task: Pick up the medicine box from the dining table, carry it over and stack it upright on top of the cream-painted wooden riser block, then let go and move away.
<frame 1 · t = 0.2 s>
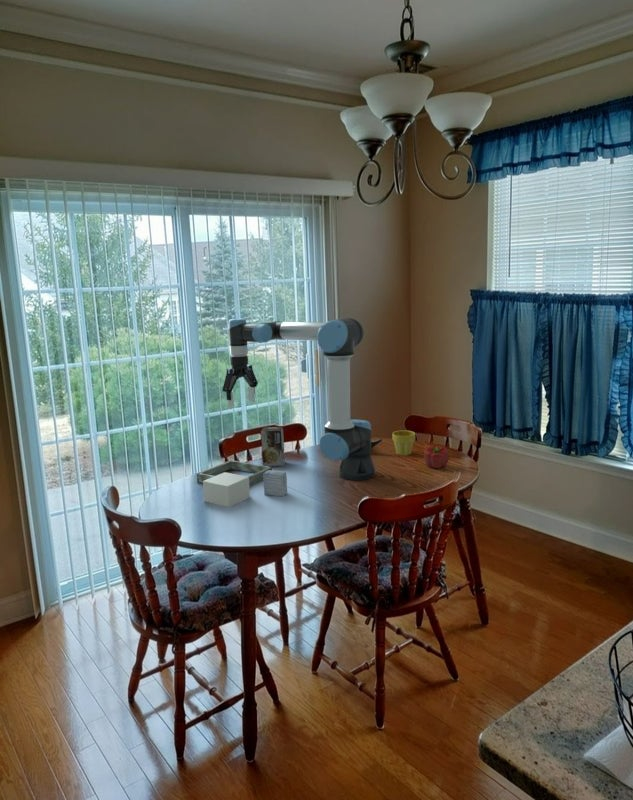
hand: (241, 404, 260), 28 cm above the table, fingers open, 13 cm apart
bowl tray frame: (235, 478, 249), on the table
coffee box: (273, 464, 268), on the table
riser block: (227, 499, 226), on the table
olive brown bowl: (348, 452, 284), on the table
vegetable: (436, 468, 256), on the table
plant pot: (403, 454, 278), on the table
medicine box: (275, 494, 230), on the table
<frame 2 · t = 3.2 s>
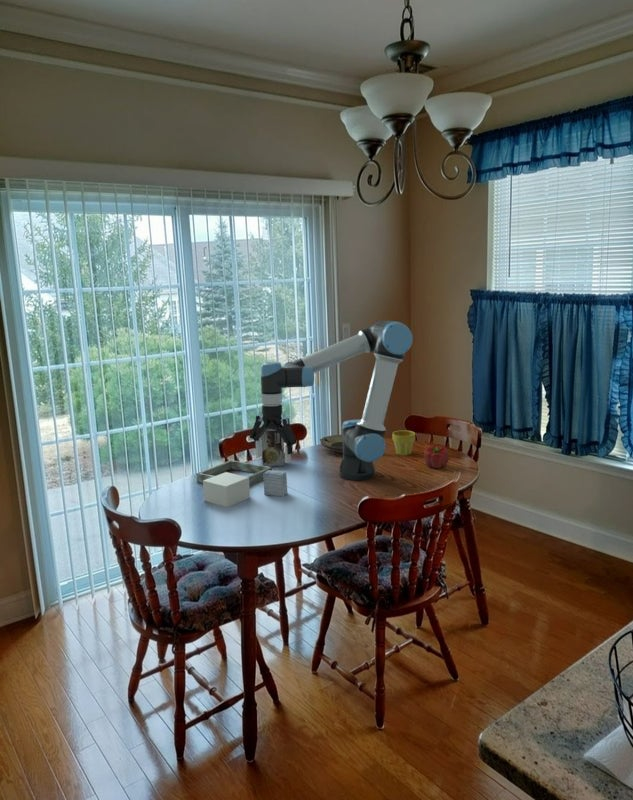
hand: (273, 459, 227), 14 cm above the table, fingers open, 13 cm apart
nothing on the table moved.
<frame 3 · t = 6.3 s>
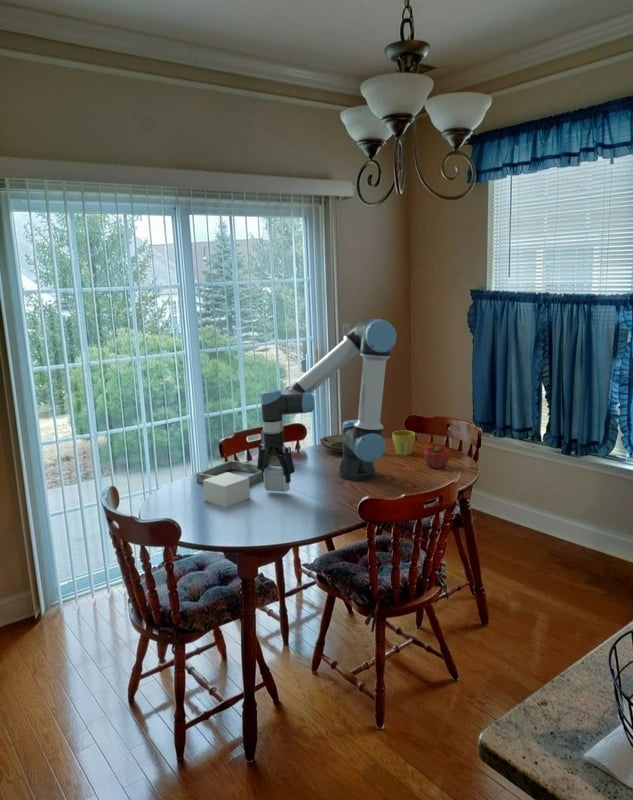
hand: (276, 488, 230), 2 cm above the table, fingers closed on medicine box, 8 cm apart
medicine box: (277, 490, 230), point 1 cm above the table, touching gripper
everything else where it was.
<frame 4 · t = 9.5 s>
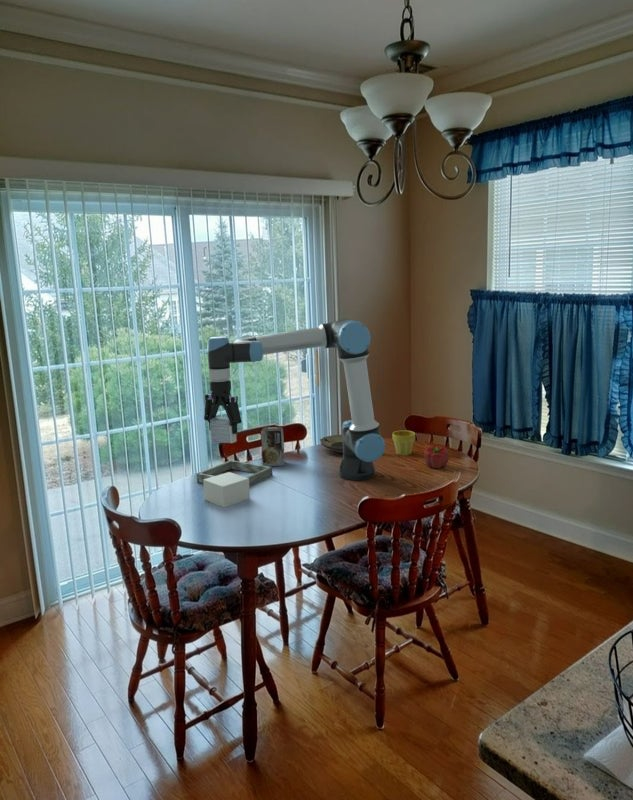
hand: (223, 440, 222), 22 cm above the table, fingers closed on medicine box, 8 cm apart
medicine box: (224, 442, 222), point 22 cm above the table, touching gripper
everything else where it was.
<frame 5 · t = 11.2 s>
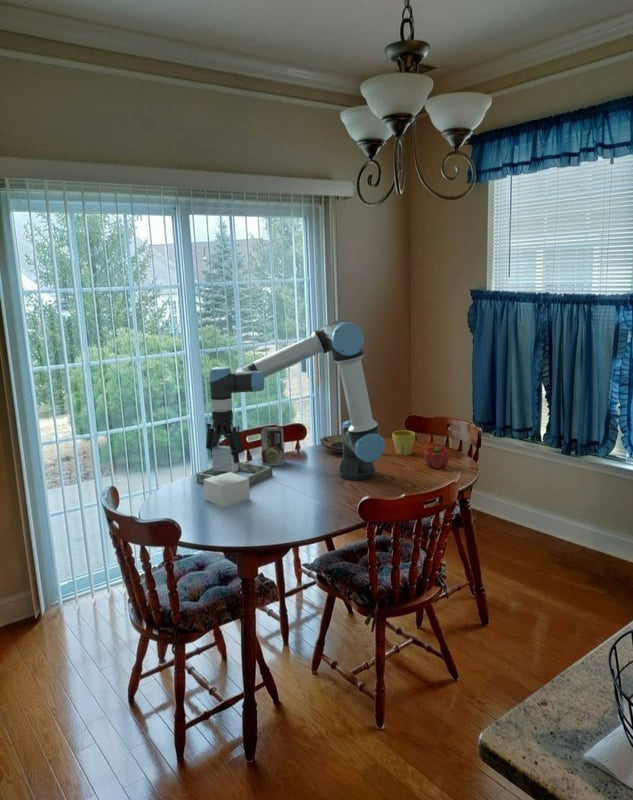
hand: (225, 469, 224), 12 cm above the table, fingers closed on medicine box, 8 cm apart
medicine box: (225, 470, 224), point 11 cm above the table, touching gripper
everything else where it was.
when the fingers open (9 cm above the table, at t = 12.6 s): medicine box drops 1 cm, resting on riser block.
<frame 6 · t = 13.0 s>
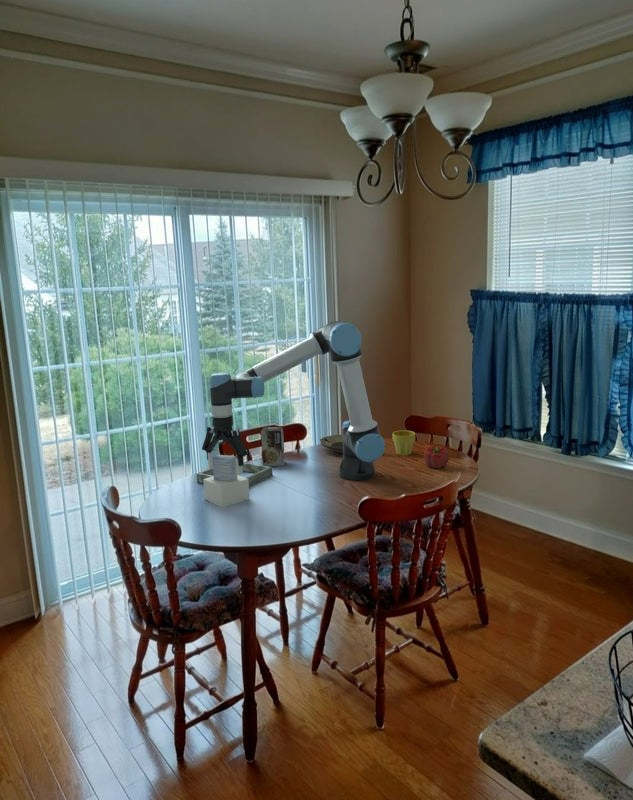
hand: (225, 471, 224), 11 cm above the table, fingers open, 13 cm apart
riser block: (227, 499, 226), on the table, touching medicine box
medicine box: (225, 479, 224), point 8 cm above the table, touching riser block
everything else where it was.
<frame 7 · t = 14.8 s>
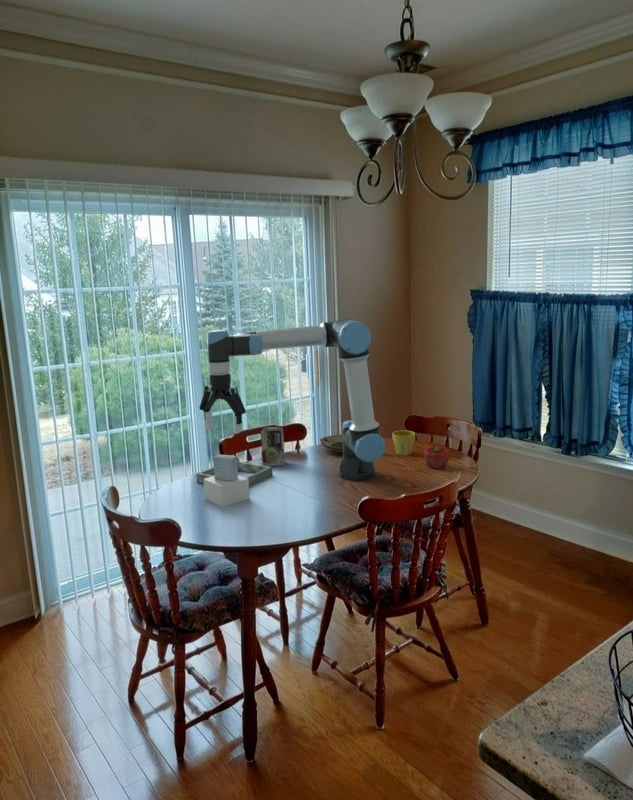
hand: (223, 430, 221), 26 cm above the table, fingers open, 13 cm apart
nothing on the table moved.
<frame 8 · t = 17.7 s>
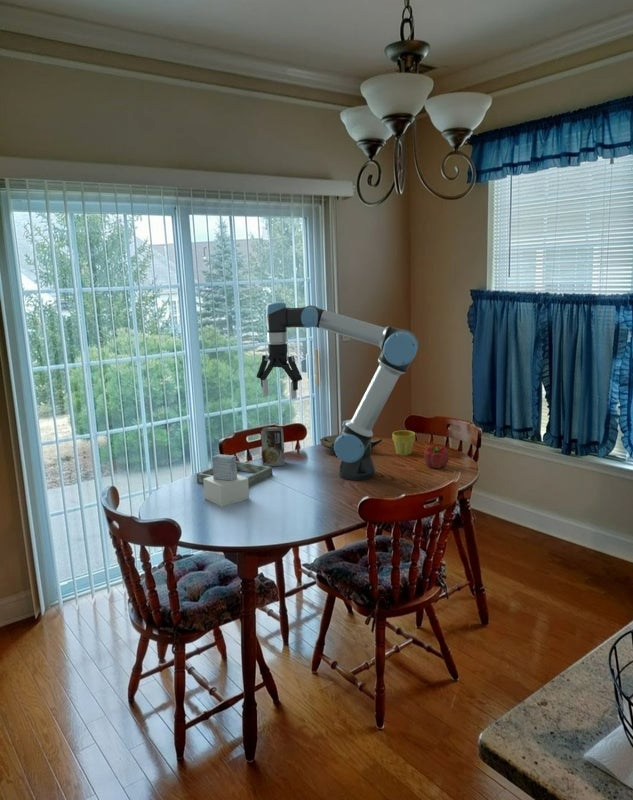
hand: (279, 397, 237), 35 cm above the table, fingers open, 13 cm apart
nothing on the table moved.
at the end: medicine box inside the target area on the riser block (0.2 cm from its centre), point 7.8 cm above the riser block's base; medicine box tilted 0°; the gripper is holding nothing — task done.
